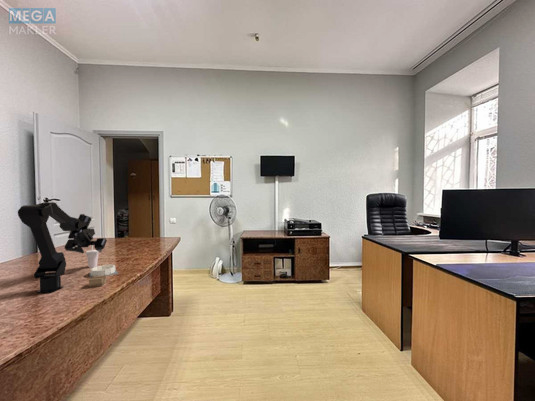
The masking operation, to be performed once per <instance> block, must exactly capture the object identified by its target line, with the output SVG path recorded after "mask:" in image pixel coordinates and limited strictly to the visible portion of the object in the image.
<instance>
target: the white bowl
mask: <svg viewBox="0 0 535 401" xmlns="http://www.w3.org/2000/svg"><path fill="white" fill-rule="evenodd" d="M115 269H116V265H115V264H104V265H97V267H94V268H90V270H89V271H90V272H89V273H90V274H91V276H93V277H94V276H103V275H109V276H111V275H110V274H113V273H115Z"/></svg>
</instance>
